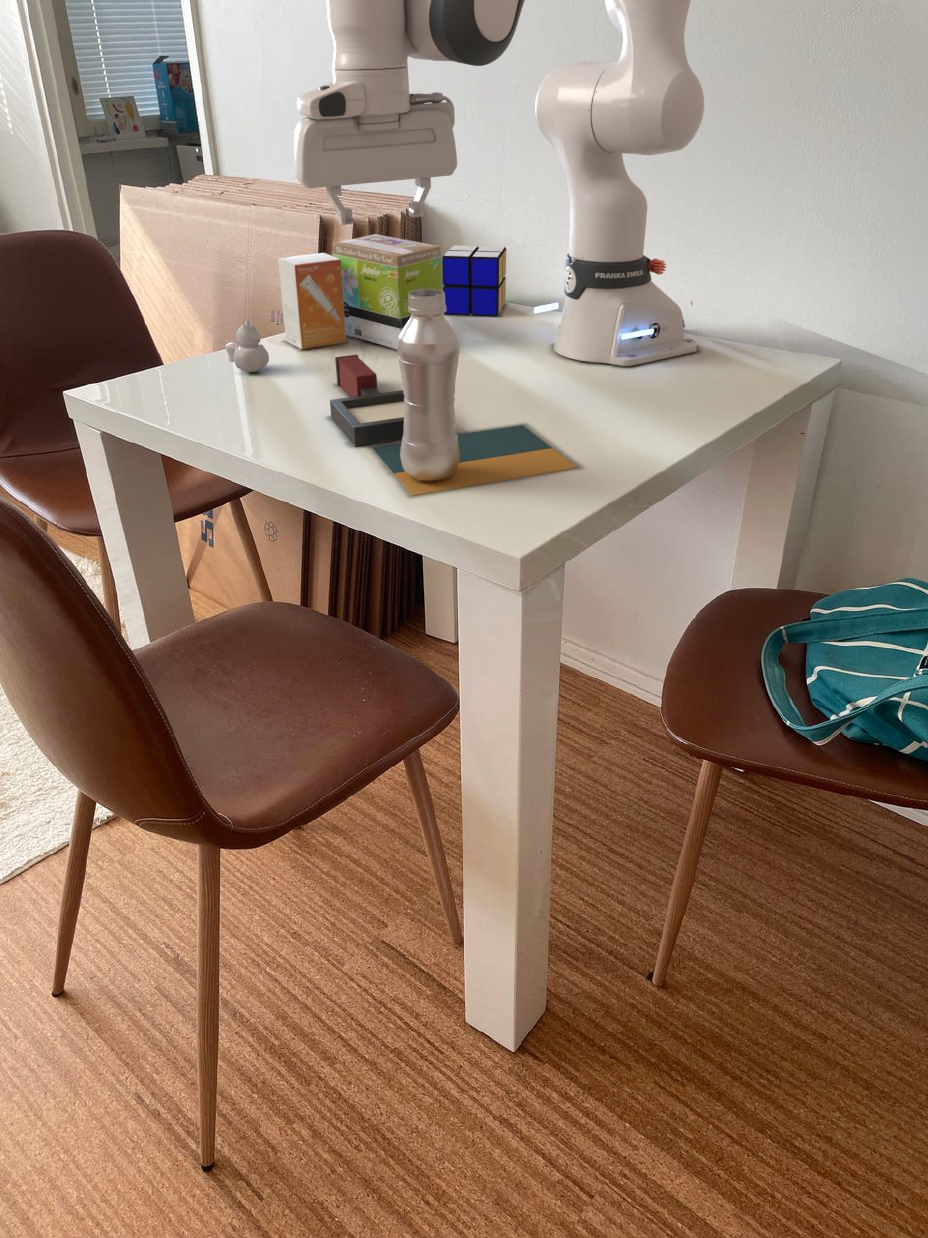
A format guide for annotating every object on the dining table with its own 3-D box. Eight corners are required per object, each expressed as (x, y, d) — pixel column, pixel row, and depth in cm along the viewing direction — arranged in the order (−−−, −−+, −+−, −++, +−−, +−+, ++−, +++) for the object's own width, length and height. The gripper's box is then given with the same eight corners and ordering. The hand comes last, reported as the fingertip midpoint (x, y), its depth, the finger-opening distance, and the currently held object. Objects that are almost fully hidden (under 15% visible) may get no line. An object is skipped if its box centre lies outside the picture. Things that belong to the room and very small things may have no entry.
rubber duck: (261, 377, 136) (254, 321, 132) (220, 374, 137) (212, 318, 133) (277, 366, 140) (271, 312, 136) (237, 363, 142) (230, 309, 138)
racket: (306, 388, 131) (304, 360, 129) (387, 378, 135) (386, 350, 133) (355, 446, 113) (353, 414, 111) (447, 432, 117) (447, 401, 114)
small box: (302, 350, 147) (293, 264, 140) (285, 341, 152) (276, 257, 145) (347, 342, 151) (341, 258, 144) (330, 333, 156) (323, 251, 149)
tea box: (336, 335, 155) (329, 241, 147) (379, 323, 161) (375, 232, 153) (401, 352, 146) (397, 253, 138) (444, 338, 153) (442, 243, 145)
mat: (522, 428, 119) (522, 424, 119) (577, 471, 107) (577, 467, 107) (372, 451, 113) (372, 447, 112) (413, 499, 101) (412, 495, 101)
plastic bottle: (400, 465, 107) (392, 286, 97) (458, 463, 108) (457, 284, 97) (401, 488, 102) (393, 300, 91) (462, 486, 102) (461, 299, 92)
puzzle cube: (442, 314, 166) (441, 255, 161) (452, 301, 174) (451, 244, 169) (498, 316, 164) (499, 257, 159) (505, 303, 173) (506, 246, 167)
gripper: (444, 89, 117) (448, 208, 124) (283, 99, 111) (298, 223, 118) (463, 92, 112) (466, 216, 119) (296, 103, 106) (310, 232, 113)
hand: (381, 220), depth 119 cm, fingers open, 8 cm apart
